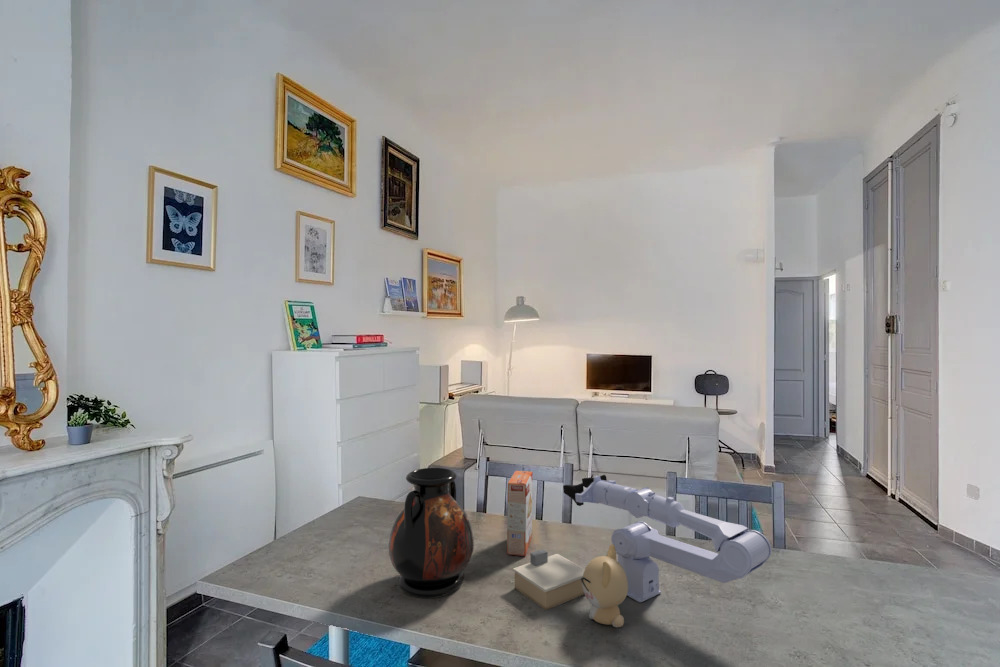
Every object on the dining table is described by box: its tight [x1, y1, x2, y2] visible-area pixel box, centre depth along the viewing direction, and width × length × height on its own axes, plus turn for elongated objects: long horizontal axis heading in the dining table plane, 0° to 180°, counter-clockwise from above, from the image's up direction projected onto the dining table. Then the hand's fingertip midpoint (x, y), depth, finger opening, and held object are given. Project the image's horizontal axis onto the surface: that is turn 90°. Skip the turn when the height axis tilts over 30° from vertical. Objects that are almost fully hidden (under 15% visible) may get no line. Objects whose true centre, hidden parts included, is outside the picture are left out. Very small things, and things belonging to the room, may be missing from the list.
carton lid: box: [512, 548, 585, 592], centre depth 120 cm, size 13×15×3 cm
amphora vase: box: [387, 467, 475, 599], centre depth 124 cm, size 22×22×28 cm
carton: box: [514, 572, 585, 611], centre depth 120 cm, size 12×14×4 cm
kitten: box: [581, 543, 628, 628], centre depth 108 cm, size 15×10×15 cm, turn 159°
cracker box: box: [506, 470, 533, 557], centre depth 146 cm, size 14×6×21 cm, turn 168°
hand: (573, 485), depth 136 cm, fingers open, 7 cm apart
